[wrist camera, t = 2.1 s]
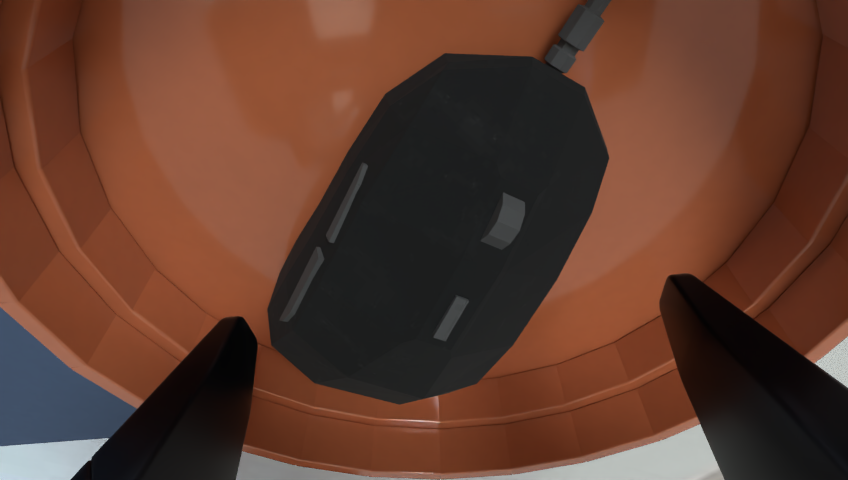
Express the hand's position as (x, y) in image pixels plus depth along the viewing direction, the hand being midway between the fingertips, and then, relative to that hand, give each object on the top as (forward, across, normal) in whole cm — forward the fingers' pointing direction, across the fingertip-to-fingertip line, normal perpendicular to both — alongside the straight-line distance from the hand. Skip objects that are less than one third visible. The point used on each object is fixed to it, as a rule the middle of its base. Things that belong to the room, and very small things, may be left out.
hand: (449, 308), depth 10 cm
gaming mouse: (+4, 0, 0) cm, 4 cm away
